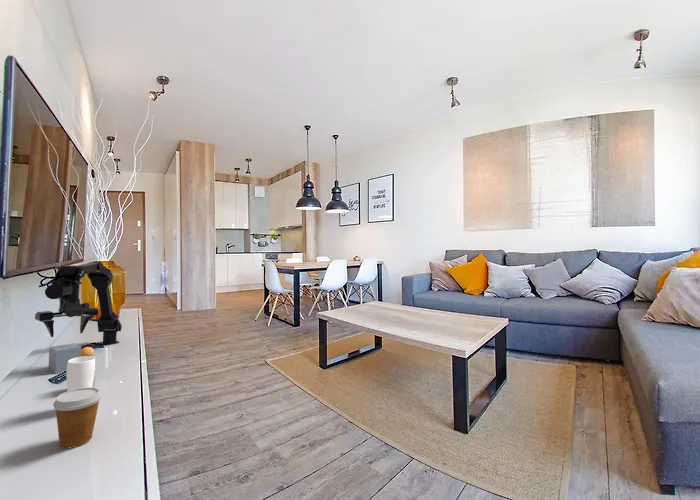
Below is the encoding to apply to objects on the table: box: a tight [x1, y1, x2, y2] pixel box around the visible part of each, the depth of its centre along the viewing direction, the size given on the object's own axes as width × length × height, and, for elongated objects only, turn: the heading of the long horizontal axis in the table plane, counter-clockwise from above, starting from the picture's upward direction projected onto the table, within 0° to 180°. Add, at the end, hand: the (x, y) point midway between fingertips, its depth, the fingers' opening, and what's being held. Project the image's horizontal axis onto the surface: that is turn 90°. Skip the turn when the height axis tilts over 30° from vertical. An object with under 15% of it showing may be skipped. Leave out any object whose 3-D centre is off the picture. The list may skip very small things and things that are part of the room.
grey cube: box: [47, 343, 82, 375], centre depth 129 cm, size 8×8×9 cm
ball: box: [81, 346, 95, 357], centre depth 141 cm, size 5×5×5 cm
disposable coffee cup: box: [52, 387, 103, 449], centre depth 82 cm, size 10×10×12 cm
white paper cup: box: [66, 356, 96, 392], centre depth 98 cm, size 7×7×15 cm
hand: (67, 335), depth 129 cm, fingers open, 9 cm apart
